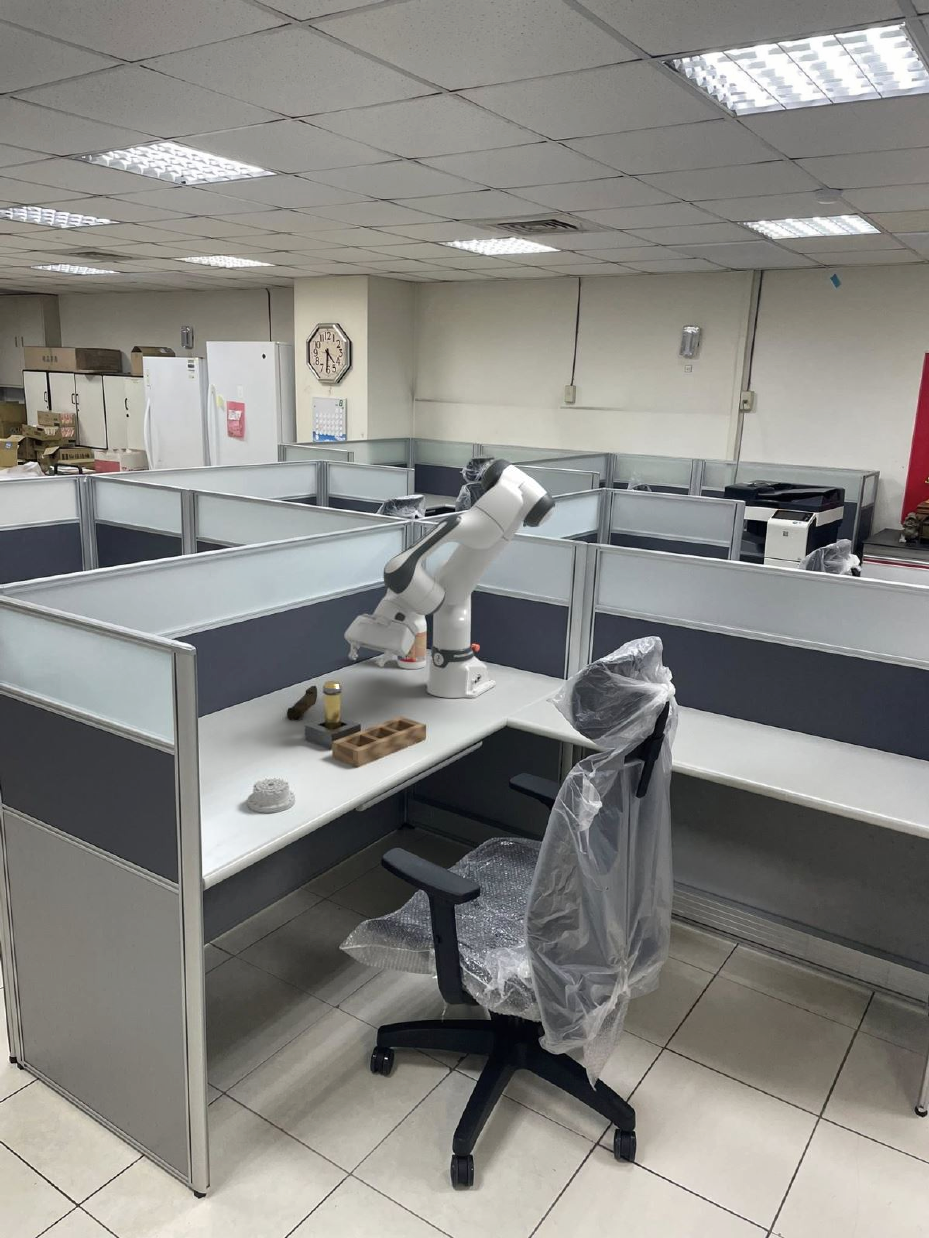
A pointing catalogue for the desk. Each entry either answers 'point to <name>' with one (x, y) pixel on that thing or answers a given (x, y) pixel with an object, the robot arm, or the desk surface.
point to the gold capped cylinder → (332, 704)
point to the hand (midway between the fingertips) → (364, 662)
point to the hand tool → (303, 704)
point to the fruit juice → (416, 646)
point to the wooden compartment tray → (378, 741)
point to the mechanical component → (271, 796)
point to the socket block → (329, 732)
